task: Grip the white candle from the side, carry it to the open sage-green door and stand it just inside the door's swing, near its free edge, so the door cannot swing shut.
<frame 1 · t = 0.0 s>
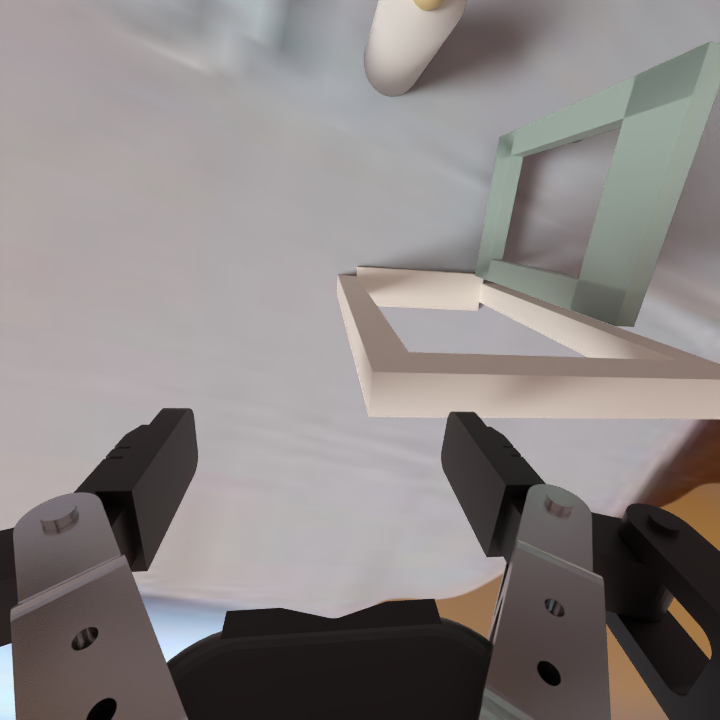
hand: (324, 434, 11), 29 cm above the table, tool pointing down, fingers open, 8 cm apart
door: (559, 209, 27), point 11 cm above the table, hinge at 90.0°
white candle: (392, 61, 32), on the table
door frame: (418, 288, 40), on the table
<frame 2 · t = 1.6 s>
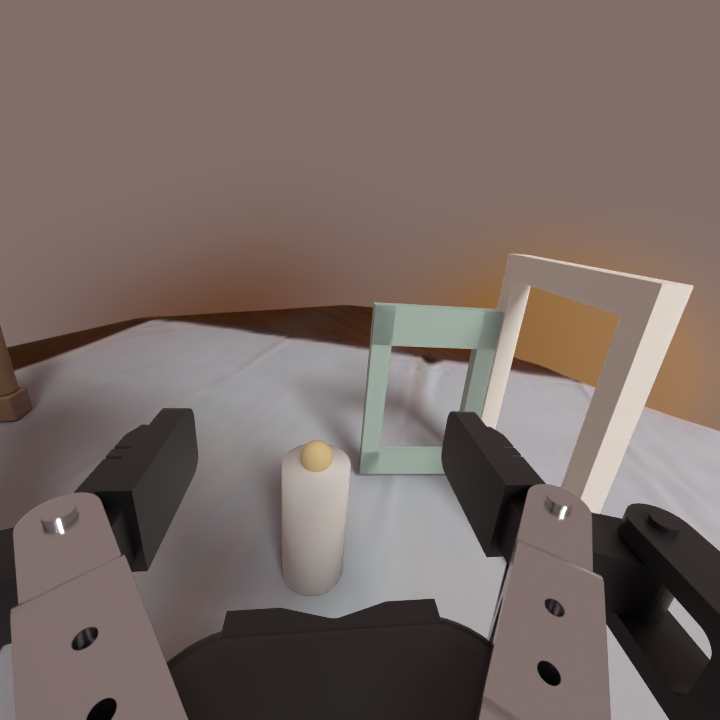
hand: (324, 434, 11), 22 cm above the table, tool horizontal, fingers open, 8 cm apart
door: (423, 393, 40), point 11 cm above the table, hinge at 90.0°
white candle: (312, 566, 31), on the table
door frame: (502, 518, 38), on the table
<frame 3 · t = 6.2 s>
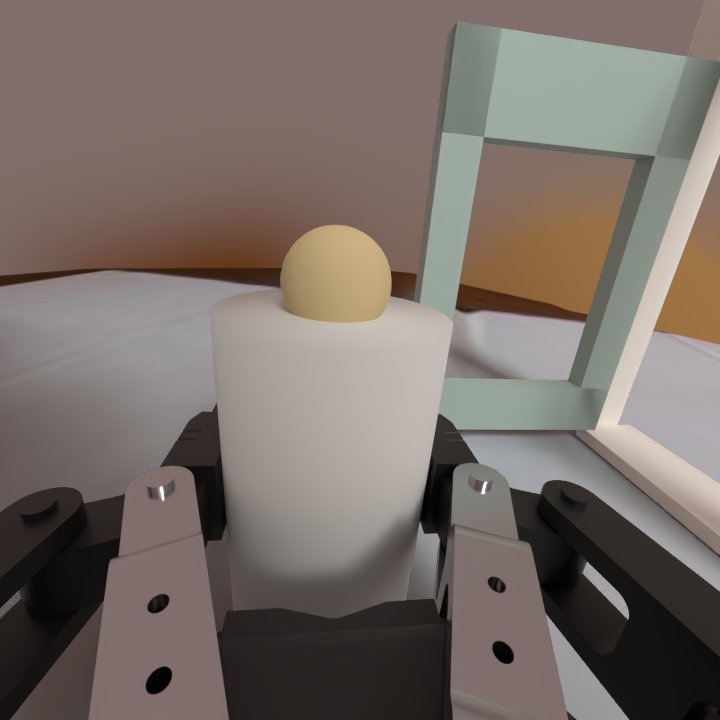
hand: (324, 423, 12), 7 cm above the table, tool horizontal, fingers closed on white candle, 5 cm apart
door: (528, 268, 21), point 11 cm above the table, hinge at 90.0°
white candle: (319, 633, 12), on the table, touching gripper
door frame: (696, 507, 19), on the table
when the fingers open (8 cm above the table, at t = 10.7 s): white candle drops 1 cm, on the table.
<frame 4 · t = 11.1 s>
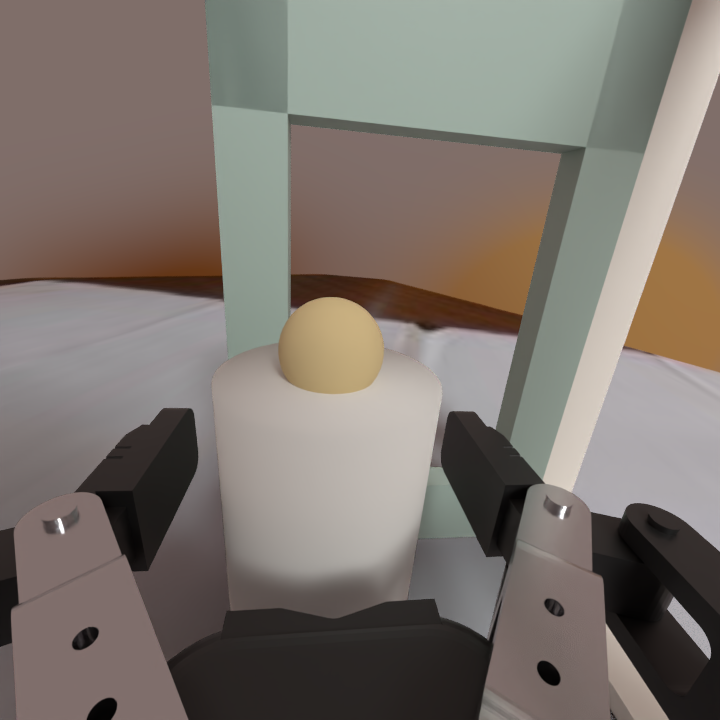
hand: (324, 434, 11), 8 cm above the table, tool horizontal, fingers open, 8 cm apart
door: (409, 317, 14), point 11 cm above the table, hinge at 90.0°
white candle: (317, 667, 12), on the table
door frame: (658, 694, 12), on the table
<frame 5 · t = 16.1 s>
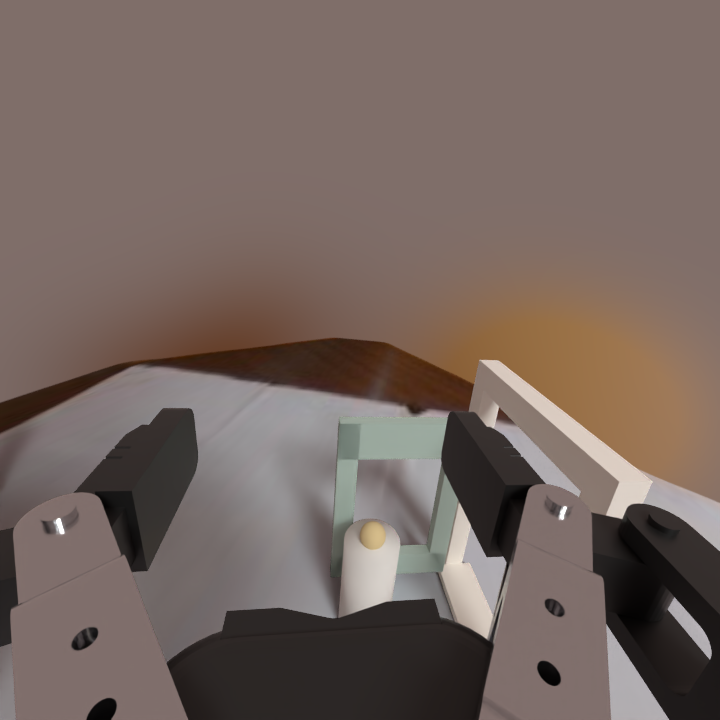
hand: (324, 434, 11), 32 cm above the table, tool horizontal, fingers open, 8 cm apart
door: (394, 497, 39), point 11 cm above the table, hinge at 90.0°
white candle: (363, 620, 37), on the table
door frame: (476, 629, 37), on the table
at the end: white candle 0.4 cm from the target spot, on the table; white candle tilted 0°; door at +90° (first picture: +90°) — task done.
